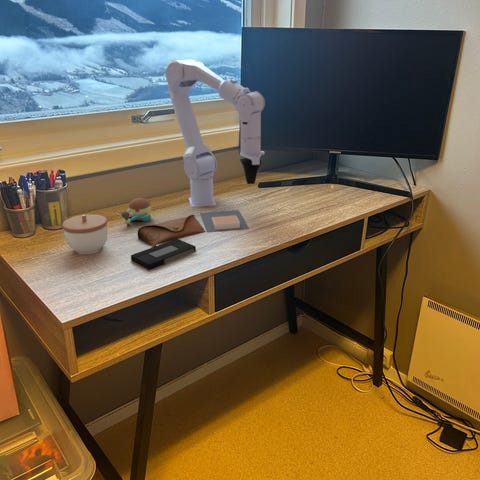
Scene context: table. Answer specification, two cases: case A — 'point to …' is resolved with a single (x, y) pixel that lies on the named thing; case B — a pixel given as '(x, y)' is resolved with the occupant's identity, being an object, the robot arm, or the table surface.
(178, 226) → the sunglasses case
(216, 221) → the tile
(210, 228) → the mat
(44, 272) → the table surface
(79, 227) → the lidded jar
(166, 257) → the vhs tape
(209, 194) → the robot arm
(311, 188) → the table surface
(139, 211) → the figurine
